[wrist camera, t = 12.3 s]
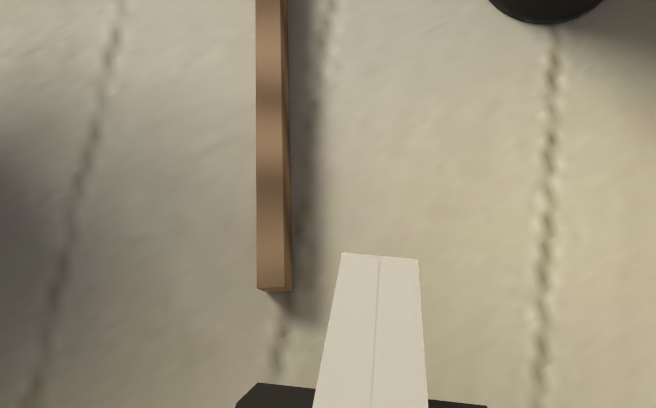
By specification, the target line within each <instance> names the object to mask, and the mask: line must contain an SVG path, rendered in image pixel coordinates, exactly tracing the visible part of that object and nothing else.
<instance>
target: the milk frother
mask: <svg viewBox="0 0 656 408" xmlns="http://www.w3.org/2000/svg"><path fill="white" fill-rule="evenodd" d="M489 1H490V2H491V3H493V4H494V5H495V7H497V8H498V9H499V10H501V11H502V12H504V13H506V14H508V15H510V16H511V17H514V18H517V19H519V20H522V21H526V22H533V23H543V24H552V23H560V22H565V21H569V20H572V19H575V18H578V17H580V16H581V15H583V14H586V13H587V12H589V11H590V10H592V9H593V8H595V7H596V6H597V5H598V4H599V3H601V1H602V0H489Z"/></svg>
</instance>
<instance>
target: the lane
mask: <svg viewBox="0 0 656 408" xmlns="http://www.w3.org/2000/svg"><path fill="white" fill-rule="evenodd" d="M256 186H257V288H258V289H260V290H262V291H265V292H286V291H293V290H292V237H291V183H290V130H289V77H288V23H287V0H256Z"/></svg>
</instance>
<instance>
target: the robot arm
mask: <svg viewBox="0 0 656 408" xmlns="http://www.w3.org/2000/svg"><path fill="white" fill-rule="evenodd" d="M235 408H487V406H483V405H474V404H465V403H456V402H447V401H438V400H429V399H428V395H427V381H426V367H425V353H424V339H423V324H422V310H421V296H420V282H419V268H418V259H409V258H398V257H388V256H377V255H366V254H356V253H345V252H342V255H341V261H340V266H339V271H338V276H337V281H336V287H335V292H334V297H333V302H332V308H331V313H330V318H329V323H328V328H327V334H326V339H325V344H324V349H323V354H322V360H321V365H320V370H319V375H318V380H317V386H316V389H311V388H302V387H293V386H284V385H275V384H266V383H257V384H256V385H255V386H254V387H253V388H252V389H251V390H250V391H249V392H248V393H247V394H246V395H244V396H243V397H242V398H241V399H240V400H239V401H238V402H237V404H236V407H235Z"/></svg>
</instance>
